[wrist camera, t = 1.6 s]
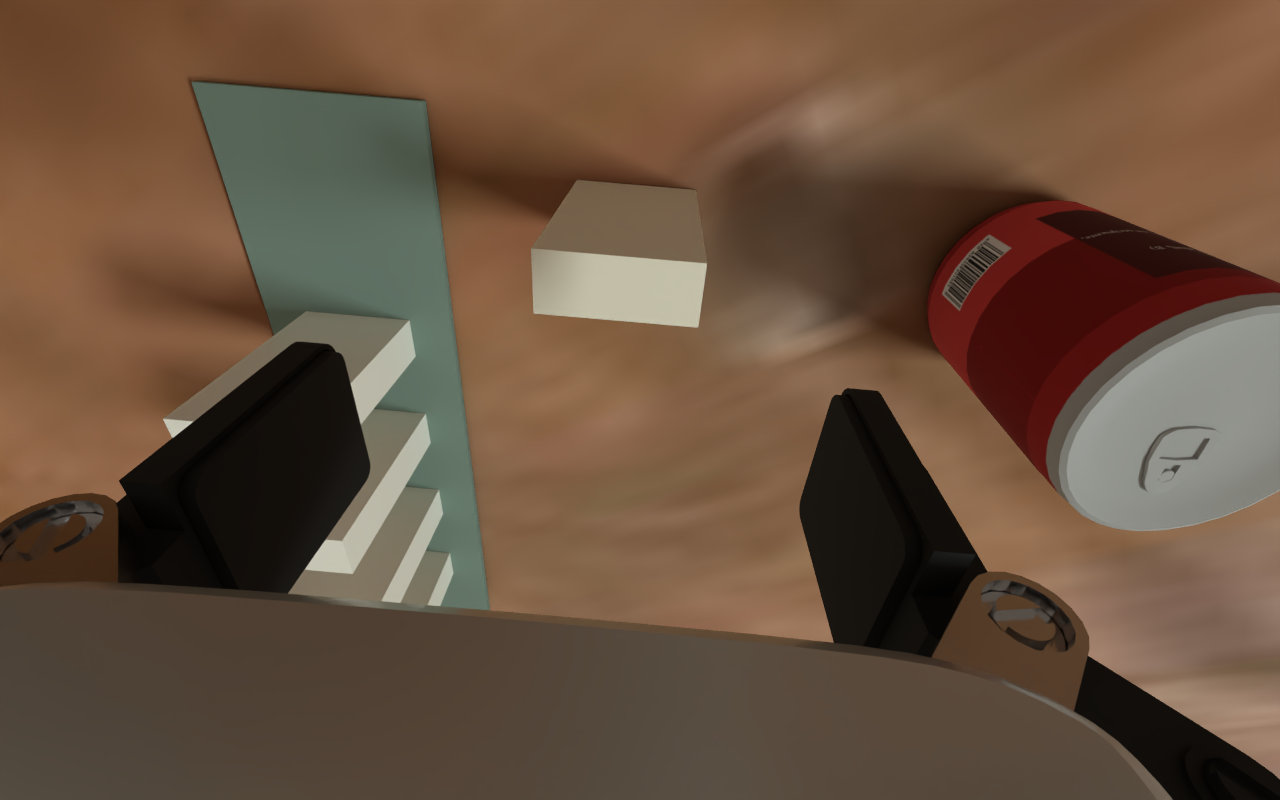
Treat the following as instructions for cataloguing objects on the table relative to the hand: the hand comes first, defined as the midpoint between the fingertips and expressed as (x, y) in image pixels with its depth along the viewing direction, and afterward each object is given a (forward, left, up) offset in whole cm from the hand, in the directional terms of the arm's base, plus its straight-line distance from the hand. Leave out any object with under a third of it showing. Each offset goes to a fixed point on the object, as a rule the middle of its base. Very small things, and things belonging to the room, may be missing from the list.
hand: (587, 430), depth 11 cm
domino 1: (+7, -13, -15) cm, 21 cm away
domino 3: (+18, -13, -15) cm, 27 cm away
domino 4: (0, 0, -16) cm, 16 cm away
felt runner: (+12, -13, -16) cm, 24 cm away
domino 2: (+12, -13, -15) cm, 23 cm away
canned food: (+2, +17, -16) cm, 23 cm away
